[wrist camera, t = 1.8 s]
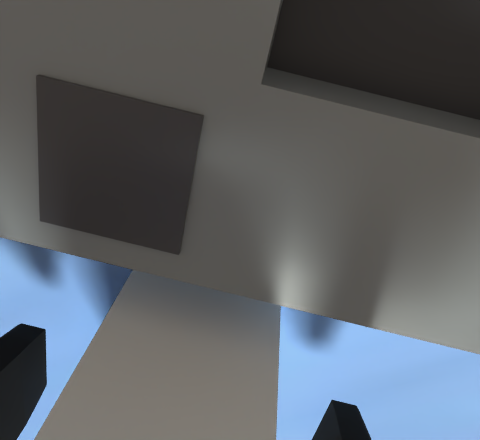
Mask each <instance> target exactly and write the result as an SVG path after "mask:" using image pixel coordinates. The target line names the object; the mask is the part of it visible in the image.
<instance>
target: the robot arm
mask: <svg viewBox="0 0 480 440" xmlns="http://www.w3.org/2000/svg"><path fill="white" fill-rule="evenodd" d="M46 385H47V376H46V332H45V329H42V328H38V327H34V326H30V325H26V324H19V325H17V326H16V327H14V328H13V329H12V330H10V331H9V332H7V333H6V334H5V335H3V336H2V337H0V440H17V438H18V437H19V435H20V433H21V432H22V430H23V429H24V427H25V426H26V424H27V422H28V420H29V418H30V416H31V414H32V412H33V411H34V409H35V407H36V405H37V403H38V401H39V399H40V397H41V395H42V393H43V391H44V389H45V387H46ZM312 440H371V437H370V435H369V433H368V430H367V428H366V426H365V423H364V421H363V419H362V416H361V414H360V412H359V409H358V408H357V406H355V405H351V404H347V403H343V402H339V401H335V400H332V401H331V403H330V405H329V407H328V409H327V411H326V413H325V415H324V417H323V419H322V421H321V423H320V425H319V427H318V429H317V431H316V433H315V435H314V437H313V439H312Z"/></svg>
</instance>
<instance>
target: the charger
mask: <svg viewBox="0 0 480 440" xmlns="http://www.w3.org/2000/svg"><path fill="white" fill-rule="evenodd" d="M280 311H281V306H280V305H276V304H272V303H268V302H263V301H259V300H255V299H251V298H247V297H243V296H239V295H235V294H231V293H227V292H223V291H218V290H214V289H210V288H206V287H202V286H198V285H194V284H190V283H186V282H182V281H177V280H173V279H169V278H165V277H161V276H157V275H153V274H149V273H145V272H141V271H136V270H132V272H131V274H130V276H129V277H128V279H127V281H126V282H125V284H124V286H123V288H122V289H121V291H120V293H119V295H118V296H117V298H116V300H115V301H114V303H113V305H112V307H111V308H110V310H109V312H108V313H107V315H106V317H105V319H104V320H103V322H102V324H101V326H100V327H99V329H98V331H97V332H96V334H95V336H94V338H93V339H92V341H91V343H90V344H89V346H88V348H87V350H86V351H85V353H84V355H83V356H82V358H81V360H80V362H79V363H78V365H77V367H76V369H75V370H74V372H73V374H72V375H71V377H70V379H69V381H68V382H67V384H66V386H65V387H64V389H63V391H62V393H61V394H60V396H59V398H58V400H57V401H56V403H55V405H54V406H53V408H52V410H51V412H50V413H49V415H48V417H47V418H46V420H45V422H44V424H43V425H42V427H41V429H40V431H39V432H38V434H37V436H36V437H35V439H34V440H276V425H277V397H278V368H279V340H280Z"/></svg>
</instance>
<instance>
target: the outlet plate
mask: <svg viewBox="0 0 480 440" xmlns="http://www.w3.org/2000/svg"><path fill="white" fill-rule="evenodd" d="M0 237H1V238H5V239H10V240H14V241H18V242H22V243H26V244H30V245H34V246H38V247H42V248H46V249H50V250H55V251H59V252H63V253H67V254H71V255H75V256H79V257H83V258H87V259H91V260H96V261H100V262H104V263H108V264H112V265H116V266H120V267H124V268H128V269H132V270H136V271H141V272H145V273H149V274H153V275H157V276H161V277H165V278H169V279H173V280H177V281H182V282H186V283H190V284H194V285H198V286H202V287H206V288H210V289H214V290H218V291H223V292H227V293H231V294H235V295H239V296H243V297H247V298H251V299H255V300H259V301H263V302H268V303H272V304H276V305H280V306H284V307H288V308H292V309H296V310H300V311H304V312H309V313H313V314H317V315H321V316H325V317H329V318H333V319H337V320H341V321H345V322H350V323H354V324H358V325H362V326H366V327H370V328H374V329H378V330H382V331H386V332H390V333H395V334H399V335H403V336H407V337H411V338H415V339H419V340H423V341H427V342H431V343H436V344H440V345H444V346H448V347H452V348H456V349H460V350H464V351H468V352H472V353H477V354H480V0H0Z"/></svg>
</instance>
